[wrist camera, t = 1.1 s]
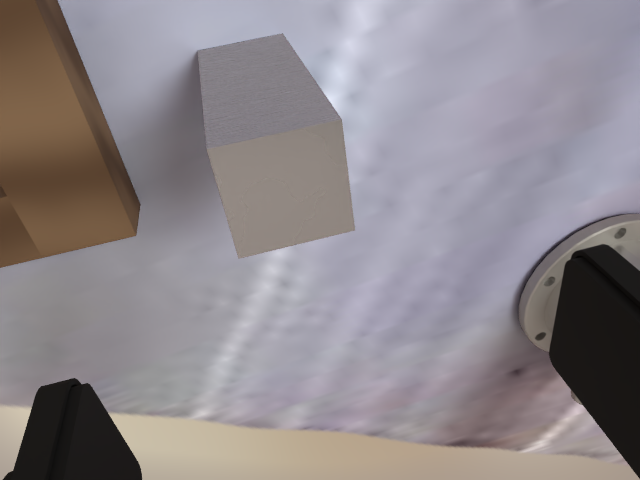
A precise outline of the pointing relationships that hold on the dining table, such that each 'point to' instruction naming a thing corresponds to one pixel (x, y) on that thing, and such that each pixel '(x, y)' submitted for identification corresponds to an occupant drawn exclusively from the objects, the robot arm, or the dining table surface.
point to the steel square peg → (273, 146)
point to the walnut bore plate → (54, 143)
